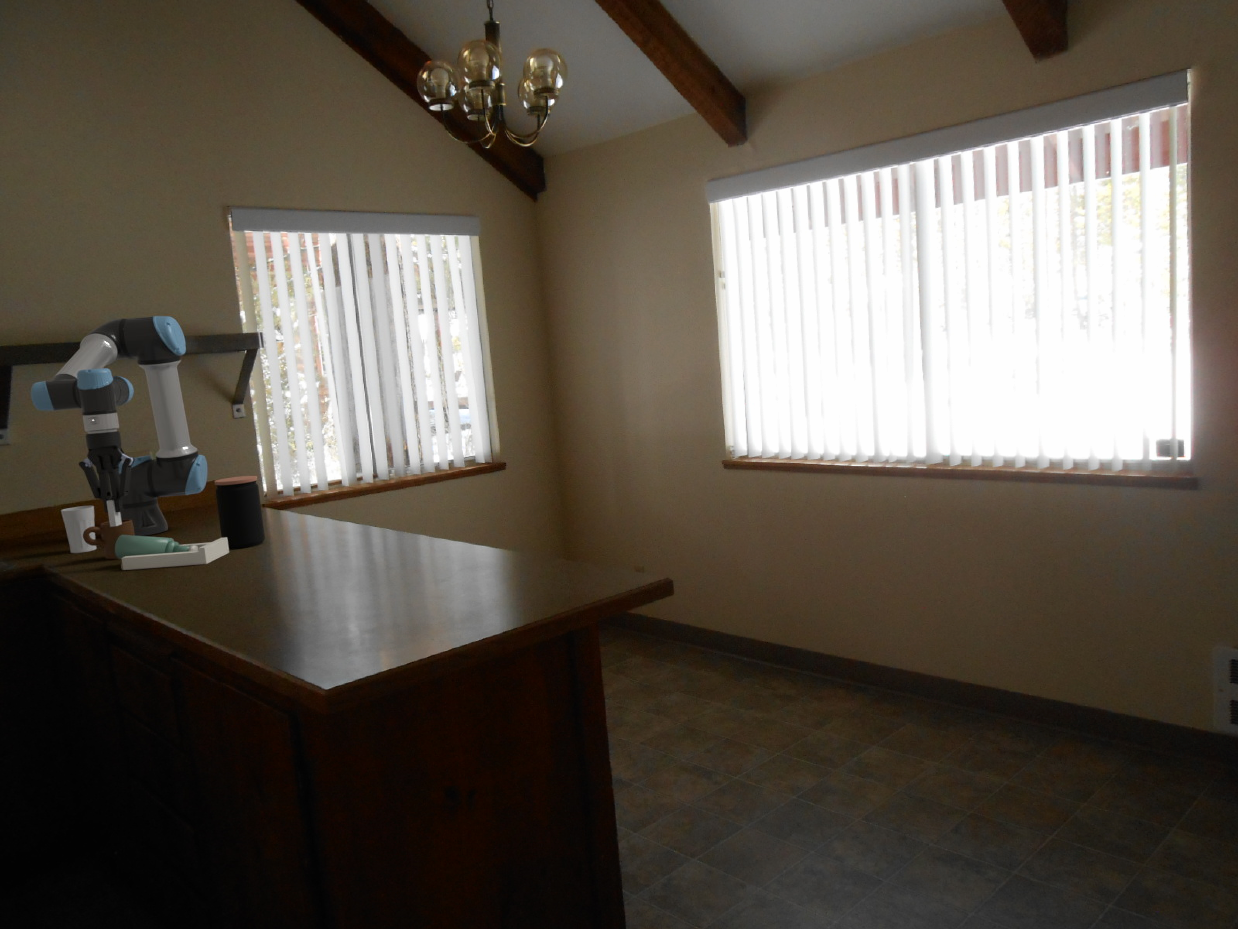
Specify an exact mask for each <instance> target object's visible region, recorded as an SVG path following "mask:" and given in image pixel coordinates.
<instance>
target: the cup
mask: <svg viewBox="0 0 1238 929" xmlns="http://www.w3.org/2000/svg"><path fill="white" fill-rule="evenodd" d="M60 512H61V516H62V520H63V523H64V527H65V531H66V536H67V540H68V544H69V550H70V553H71V554H80V553H85V552H86V553H87V552H91V551H95V550H97V549H98V548H97V546H92V545H89V544H87V543H86V542H85V541H84V539H83V533H84V531H85V530H86V529H87V528H89V527H93V526H94V527H96V526H95V506H94V505H83V506H82V505H81V506H75V507H69V508H63V509H60ZM89 535H90V537H91V538H92V539H96V533H93V532H91V533H90V534H89Z"/></svg>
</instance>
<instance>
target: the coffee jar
mask: <svg viewBox="0 0 1238 929" xmlns="http://www.w3.org/2000/svg"><path fill="white" fill-rule="evenodd" d="M257 481H258V476H257V475H242V476H233V477H226V478H221V479H220V478H219V479H216V480H214V485H215V486H216V488H215V497H216V506H217V514H218V521H219V526H220V535H221V537H220V538H225V537H227V539H228V547H229V550H239V549H247V548H251V547H255V546H260V545H262V544H263V543H264V541H265V536H266V535H265V528H264V521H263V519H264V518H263V513H262V512H263V511H262V505H261V504H262V503H261V497H260V489H259V485H258V483H257Z"/></svg>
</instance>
